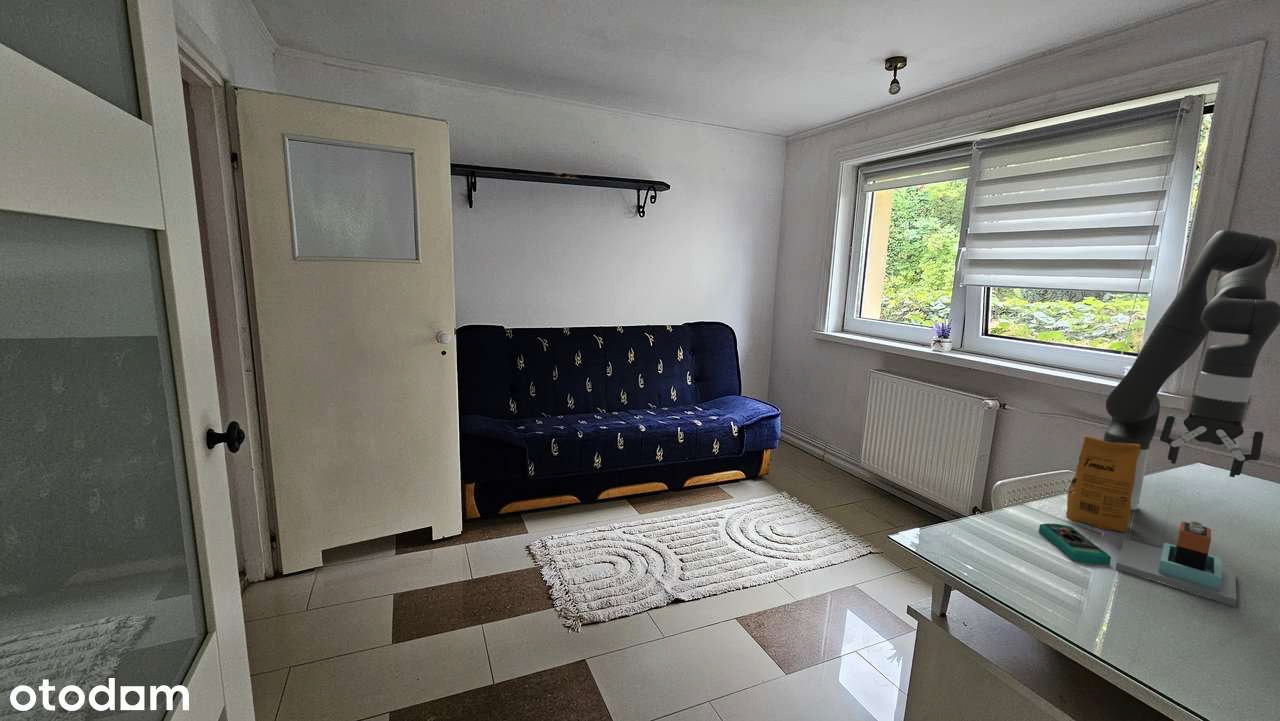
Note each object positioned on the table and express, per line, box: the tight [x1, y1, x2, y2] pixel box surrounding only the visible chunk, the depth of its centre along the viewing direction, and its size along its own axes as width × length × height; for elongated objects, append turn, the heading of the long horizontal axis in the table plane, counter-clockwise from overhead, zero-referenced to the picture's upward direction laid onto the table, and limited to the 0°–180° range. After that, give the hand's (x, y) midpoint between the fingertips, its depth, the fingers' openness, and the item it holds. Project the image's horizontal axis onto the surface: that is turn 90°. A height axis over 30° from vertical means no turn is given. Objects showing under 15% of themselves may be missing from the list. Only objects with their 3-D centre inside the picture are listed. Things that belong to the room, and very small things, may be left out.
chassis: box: [1115, 538, 1238, 608], centre depth 110 cm, size 17×16×4 cm
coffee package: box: [1065, 435, 1141, 533], centre depth 132 cm, size 10×12×22 cm
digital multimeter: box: [1038, 523, 1112, 566], centre depth 120 cm, size 7×15×3 cm, turn 168°
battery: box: [1174, 521, 1212, 571], centre depth 108 cm, size 4×7×10 cm, turn 132°
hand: (1202, 469), depth 110 cm, fingers open, 8 cm apart
